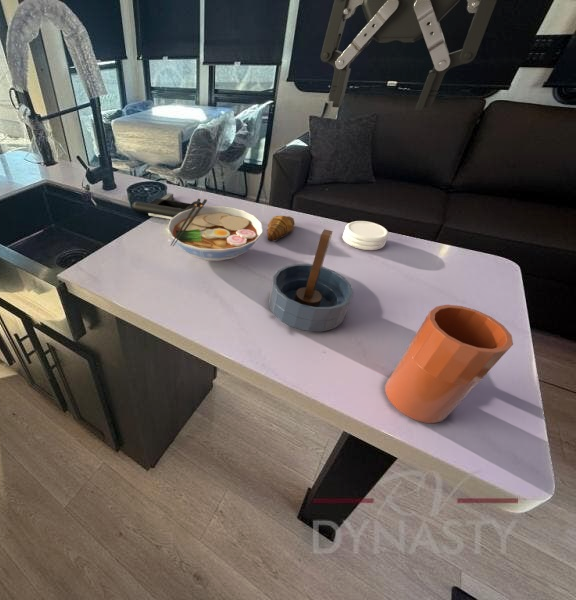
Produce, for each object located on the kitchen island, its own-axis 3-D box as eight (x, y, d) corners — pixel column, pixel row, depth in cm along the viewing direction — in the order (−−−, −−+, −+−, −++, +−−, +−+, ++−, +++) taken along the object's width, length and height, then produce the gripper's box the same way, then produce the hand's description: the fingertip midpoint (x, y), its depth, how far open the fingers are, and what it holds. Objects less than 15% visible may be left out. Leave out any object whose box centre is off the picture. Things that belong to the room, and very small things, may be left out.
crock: (448, 390, 50) (509, 318, 41) (447, 433, 45) (516, 363, 35) (388, 368, 54) (431, 297, 44) (381, 405, 48) (427, 334, 39)
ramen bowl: (249, 288, 71) (253, 256, 66) (152, 270, 78) (149, 239, 72) (266, 235, 89) (270, 206, 84) (186, 224, 96) (186, 197, 90)
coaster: (333, 235, 88) (337, 223, 85) (364, 229, 90) (368, 217, 88) (361, 254, 80) (365, 241, 78) (393, 246, 83) (399, 234, 80)
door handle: (153, 188, 111) (128, 204, 100) (208, 196, 105) (189, 214, 93) (153, 198, 113) (129, 214, 102) (208, 206, 107) (189, 225, 95)
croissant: (278, 220, 96) (281, 204, 93) (301, 226, 92) (305, 209, 89) (257, 239, 88) (259, 222, 84) (281, 246, 84) (284, 229, 81)
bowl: (350, 300, 67) (359, 276, 63) (333, 344, 58) (343, 320, 54) (282, 279, 73) (287, 256, 70) (257, 316, 64) (261, 292, 60)
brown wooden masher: (321, 301, 66) (345, 230, 56) (314, 315, 63) (338, 242, 53) (297, 294, 68) (316, 223, 58) (290, 306, 65) (308, 234, 55)
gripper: (345, -103, 28) (304, 110, 39) (568, -147, 22) (448, 121, 33) (360, -85, 33) (320, 100, 44) (548, -117, 27) (449, 108, 37)
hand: (375, 109), depth 38 cm, fingers open, 8 cm apart
